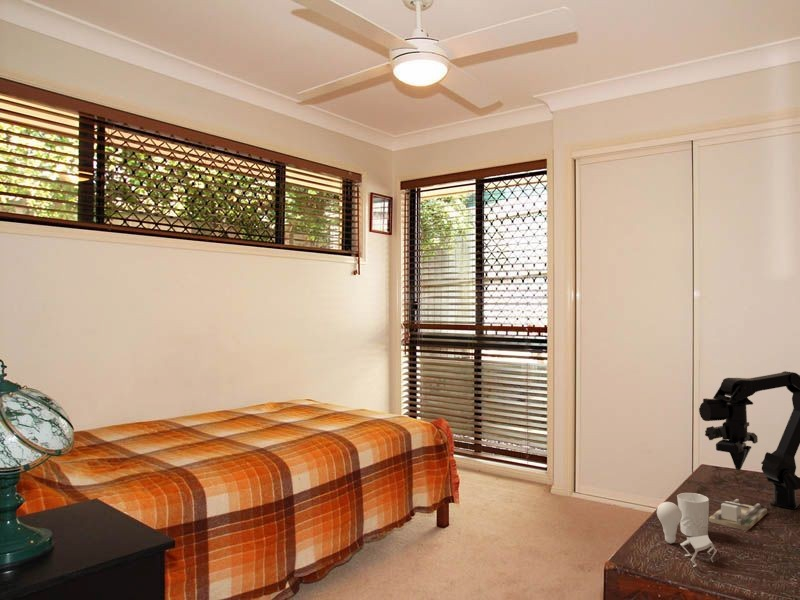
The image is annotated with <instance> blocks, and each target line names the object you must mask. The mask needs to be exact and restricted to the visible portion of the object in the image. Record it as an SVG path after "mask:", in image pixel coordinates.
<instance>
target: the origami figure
mask: <svg viewBox="0 0 800 600" xmlns="http://www.w3.org/2000/svg"><path fill="white" fill-rule="evenodd" d="M688 544H691V546H692V548H693V549H694V553H693V555H692V554H691V553H690V552H689V550H687V548H686V547H685V546H686V545H688ZM679 545H680V546H681V548H683V549H684V550H685V551H686V553H687V554H684V556H685V557H691V556H692V557H691V559H690V561H691V562H692V563H693V564H694V565H692V566H693V567H694V568H695V567H697V566H698V564H697V563H696V561H695V559H696V556H697V554H698V552H700V551H703V550H707V549H708V548H709V549H708V551H707V554H708V555H710V556H711V557H710V561H711V562H712V563H714V560H713V558H714V557H715V555H716V554H717V552H718V550H717V549H716V546H714V544H713V542H712V541H711V539H710V538H709V534H708V535H704V536H698V537H690V536H686V540H684V541H683V542H680V544H679ZM710 547H711V548H710ZM713 549H714V552H713V554H711V553H710V552H712V550H713ZM693 567H692V568H693Z"/></svg>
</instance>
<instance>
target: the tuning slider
mask: <svg viewBox="0 0 800 600" xmlns="http://www.w3.org/2000/svg"><path fill="white" fill-rule="evenodd" d="M713 502H718V503H721V504H720V509H721V518H723V519H727V520H731V521H735V522H737V520H738V519H739V518H740V517H741V507H744V508H749V507H747V506H743V505H741V504H742V503H740V504H738V503H733V501H731V502H730V501H727V500H725V501H723V500H718V499H713Z"/></svg>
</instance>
